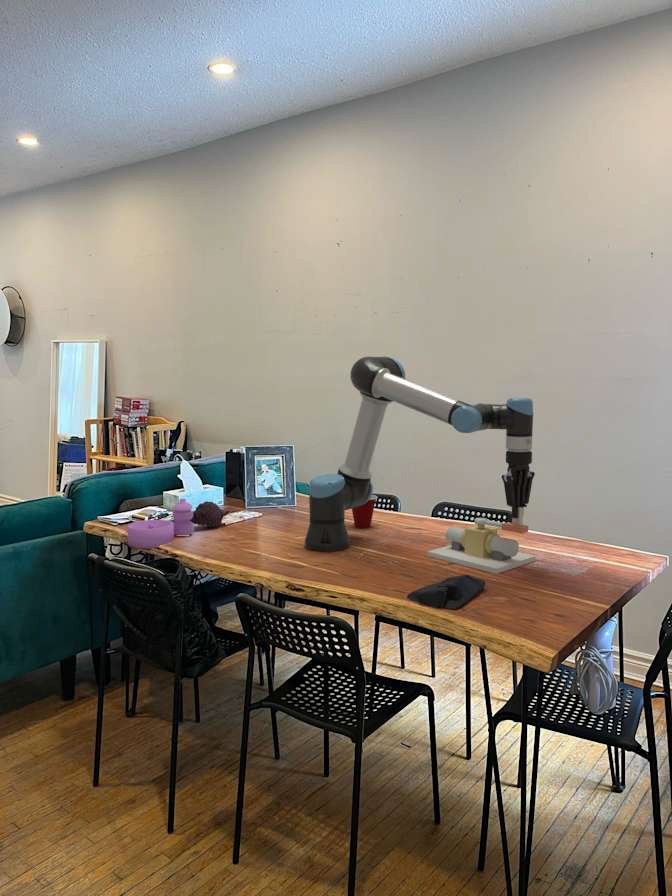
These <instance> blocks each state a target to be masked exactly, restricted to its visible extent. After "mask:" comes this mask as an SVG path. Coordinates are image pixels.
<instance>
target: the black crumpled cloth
mask: <svg viewBox="0 0 672 896" xmlns="http://www.w3.org/2000/svg"><path fill="white" fill-rule="evenodd" d="M485 586H486V581H485V580H483V579H480V578H477V577H474V576H472V575H470V574H462V575H458V576H451V577H450V576H449V577H448V578H447V577H446V579H444V580H441V581H440V582H436V583H431V584H428V585H427V586H424V587H421V588H418V589H416V590H413V591H411V592H410V593H408V594H407V595H406V598H407V599H408V601H412V602H415V603H419V604H421V605H424V606H429V607H432V608H433V607H434V608H439V609H440V608H441V609H445V610H449V609H450V610H458V609H459V608H460V607H461V606H463V605H465V604H467V603H468V602H470V601H471V600H472V599H473V597H475V596H476V594H478V593H479V592H480V591H481V590H482V589H483V588H484V587H485Z"/></svg>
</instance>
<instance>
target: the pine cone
mask: <svg viewBox="0 0 672 896" xmlns="http://www.w3.org/2000/svg"><path fill="white" fill-rule="evenodd" d="M192 512H193V518H192V519H191V520H190V521H191V522H192V523H193V525H198V526H207V527H208V528H214V527H218V526H220V525H221V523H222V521H223V519H224V517H226V516H228V515H229V513H230V510H228V509H222V508H221V507H219V505H218V504H217V503H215V502H213V501H207V500H205V501H204V502H203V503H199V504H198V505H197V507H195V509H194V511H193V510H192Z"/></svg>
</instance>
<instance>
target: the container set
mask: <svg viewBox="0 0 672 896" xmlns="http://www.w3.org/2000/svg"><path fill="white" fill-rule="evenodd" d="M178 501H179V502H177V503H175V504H174V505H173V509H172V510H174V511H173V512H172V518H173V520H175V522H173V521H172V520H167V519H144V520H138V521H134V522H131V523H128V525H127V529H126V530H127V545H128V546H129V547H131V548H136V549H154V548H159V547H158V546H160V545H163V544H167V543H169V542H172V541H173V540H174V541H175V536H176V535H190V534H191V535H192V534H193V532H194V530H195V524H193V523H192V522H191V521H190V520H191V519H192V518H193V505H192V503H189V502H187V501H186V498H179V500H178ZM175 534H176V535H175ZM191 535H190V536H191Z"/></svg>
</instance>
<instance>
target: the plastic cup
mask: <svg viewBox="0 0 672 896" xmlns="http://www.w3.org/2000/svg"><path fill="white" fill-rule="evenodd" d="M377 499H378V496H377V495H374V494H372V495H371V497H370V499H369V500H368V501H367V502H366V503H365V504H363V505H361V506H359V507H357V508H352V509H351V511H352V517H353V523H354V527H355V528H357V529H358V528H359V529H366V528H367V527H368V528H371V525H372V519H373V515H374V510H375V503H377V502H376V501H377Z"/></svg>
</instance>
